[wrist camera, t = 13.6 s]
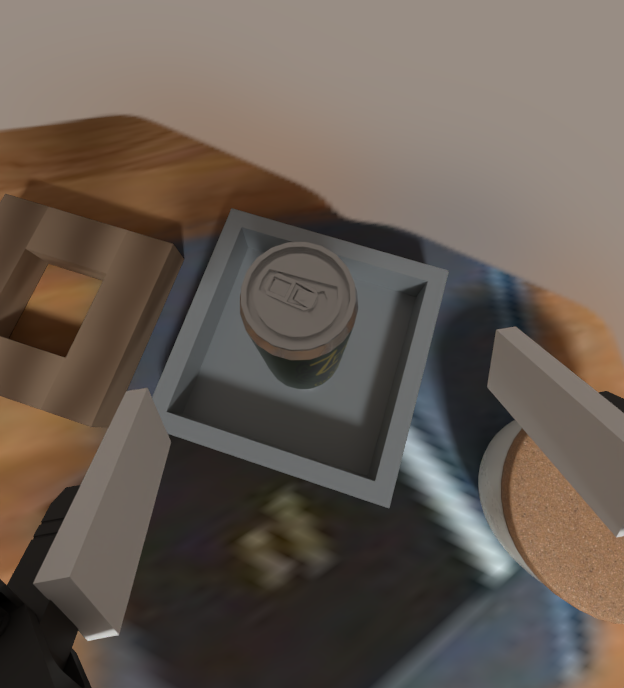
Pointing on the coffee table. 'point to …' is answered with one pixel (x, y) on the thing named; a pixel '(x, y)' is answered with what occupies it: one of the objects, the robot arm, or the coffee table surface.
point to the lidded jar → (550, 526)
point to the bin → (304, 404)
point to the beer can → (299, 311)
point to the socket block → (102, 318)
